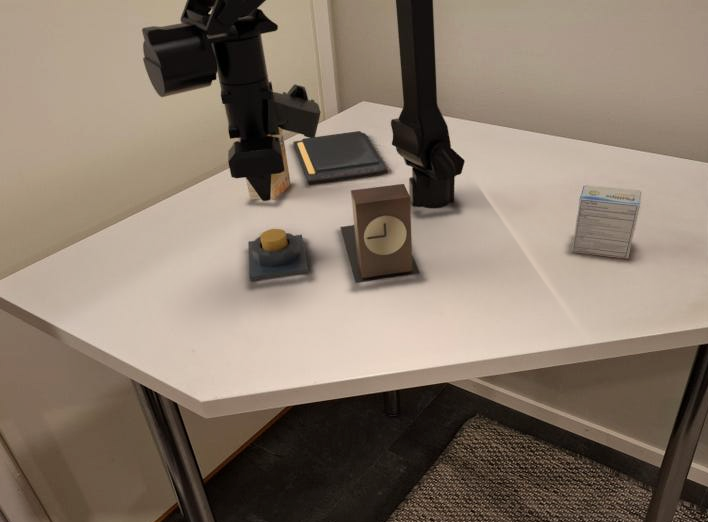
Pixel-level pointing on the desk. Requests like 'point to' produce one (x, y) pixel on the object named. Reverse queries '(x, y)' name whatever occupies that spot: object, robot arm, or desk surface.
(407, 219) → the alarm clock
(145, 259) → the desk surface
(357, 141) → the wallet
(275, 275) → the switch block
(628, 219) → the medicine box
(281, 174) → the supplement box
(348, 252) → the dark grey flat slab
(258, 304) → the desk surface
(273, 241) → the button
